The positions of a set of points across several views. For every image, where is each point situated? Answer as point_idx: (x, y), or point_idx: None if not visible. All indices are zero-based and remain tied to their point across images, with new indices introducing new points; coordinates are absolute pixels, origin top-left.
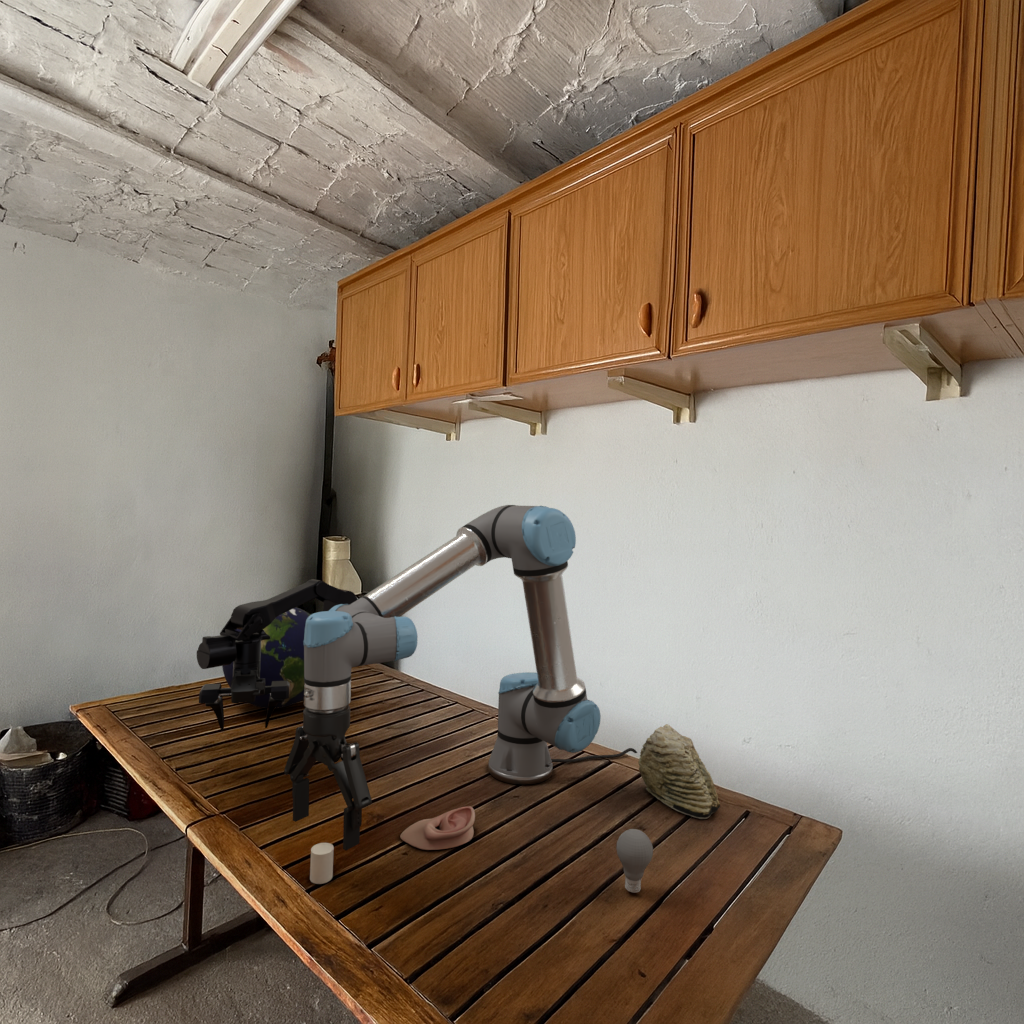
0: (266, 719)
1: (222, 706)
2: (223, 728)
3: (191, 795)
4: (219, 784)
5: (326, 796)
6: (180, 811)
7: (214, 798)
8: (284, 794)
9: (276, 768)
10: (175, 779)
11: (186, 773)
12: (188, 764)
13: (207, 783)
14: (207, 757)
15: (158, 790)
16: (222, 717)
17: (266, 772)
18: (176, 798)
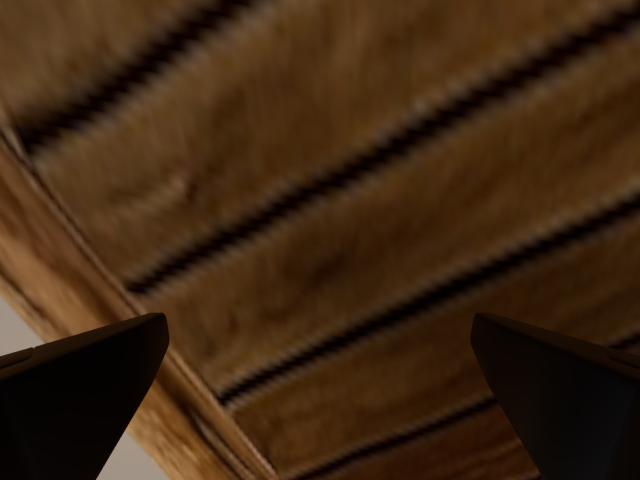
0: (507, 408)
1: (17, 445)
2: (163, 338)
3: (170, 379)
4: (246, 322)
5: None
6: (170, 460)
7: (250, 410)
8: (464, 427)
9: (458, 225)
10: (63, 247)
11: (85, 197)
12: (54, 91)
13: (200, 305)
14: (119, 9)
15: (41, 325)
16: (112, 433)
17: (415, 256)
18: None
